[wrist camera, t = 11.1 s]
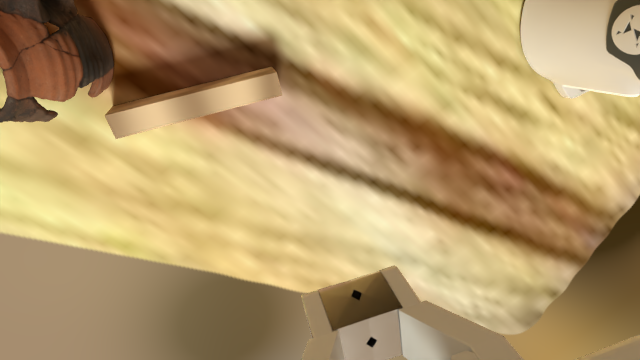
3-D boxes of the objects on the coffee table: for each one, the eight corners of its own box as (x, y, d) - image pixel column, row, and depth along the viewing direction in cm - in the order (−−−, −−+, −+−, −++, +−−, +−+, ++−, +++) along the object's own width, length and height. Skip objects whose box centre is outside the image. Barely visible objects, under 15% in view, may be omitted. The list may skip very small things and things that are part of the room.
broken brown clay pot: (114, 122, 33) (27, 159, 26) (22, 67, 33) (-89, 90, 26) (139, -15, 27) (34, -14, 20) (26, -81, 27) (-117, -104, 20)
